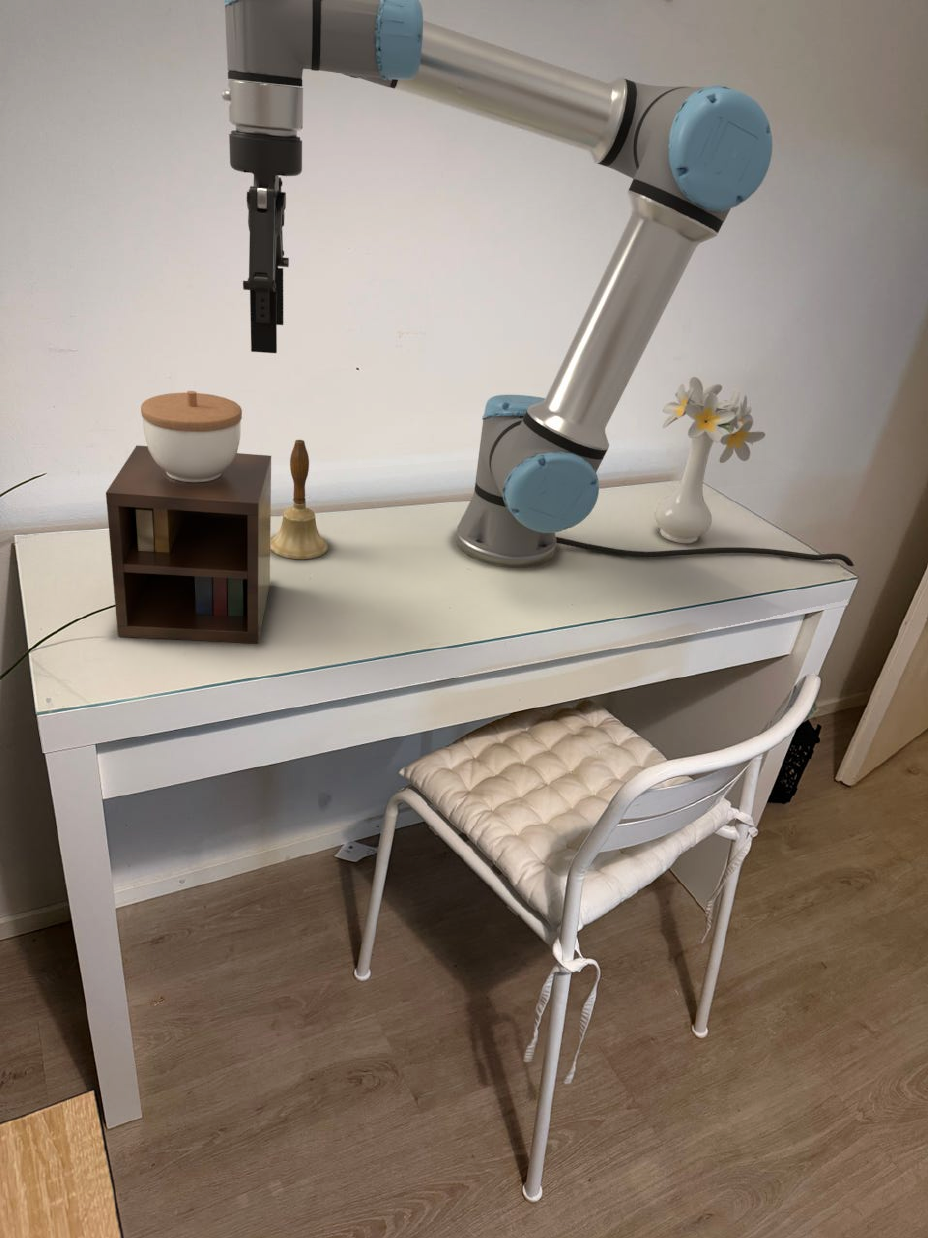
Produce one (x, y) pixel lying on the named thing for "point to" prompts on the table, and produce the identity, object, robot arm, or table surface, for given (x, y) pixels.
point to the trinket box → (192, 434)
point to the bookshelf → (190, 550)
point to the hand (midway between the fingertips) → (268, 337)
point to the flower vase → (702, 455)
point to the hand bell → (299, 516)
